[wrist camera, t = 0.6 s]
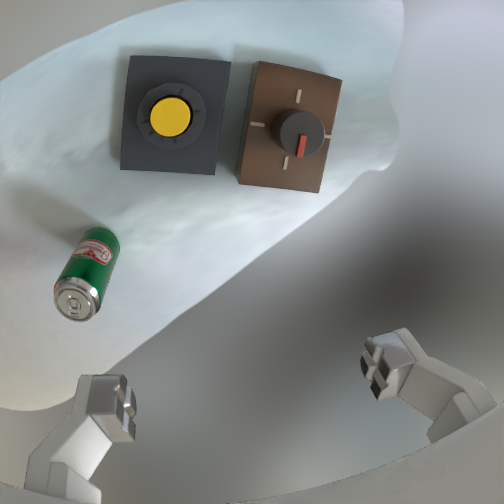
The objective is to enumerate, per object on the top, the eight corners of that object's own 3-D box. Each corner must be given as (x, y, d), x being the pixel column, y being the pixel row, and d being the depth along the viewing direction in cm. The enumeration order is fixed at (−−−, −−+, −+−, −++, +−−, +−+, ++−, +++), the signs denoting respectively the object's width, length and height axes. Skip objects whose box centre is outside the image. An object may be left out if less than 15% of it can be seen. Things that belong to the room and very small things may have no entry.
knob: (274, 105, 28) (285, 107, 25) (315, 113, 29) (330, 117, 26) (267, 147, 31) (276, 154, 27) (307, 153, 32) (321, 161, 28)
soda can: (123, 230, 35) (100, 290, 25) (117, 265, 37) (97, 330, 27) (85, 221, 34) (49, 276, 23) (81, 256, 36) (50, 317, 26)
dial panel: (253, 63, 29) (259, 60, 26) (331, 80, 31) (343, 80, 28) (235, 176, 35) (238, 184, 32) (309, 185, 37) (319, 194, 34)
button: (154, 96, 26) (152, 96, 24) (192, 98, 26) (192, 99, 25) (150, 133, 27) (148, 135, 26) (187, 135, 28) (187, 137, 27)
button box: (134, 57, 26) (126, 53, 23) (229, 64, 28) (233, 60, 25) (124, 164, 32) (116, 174, 28) (213, 170, 34) (215, 180, 30)
